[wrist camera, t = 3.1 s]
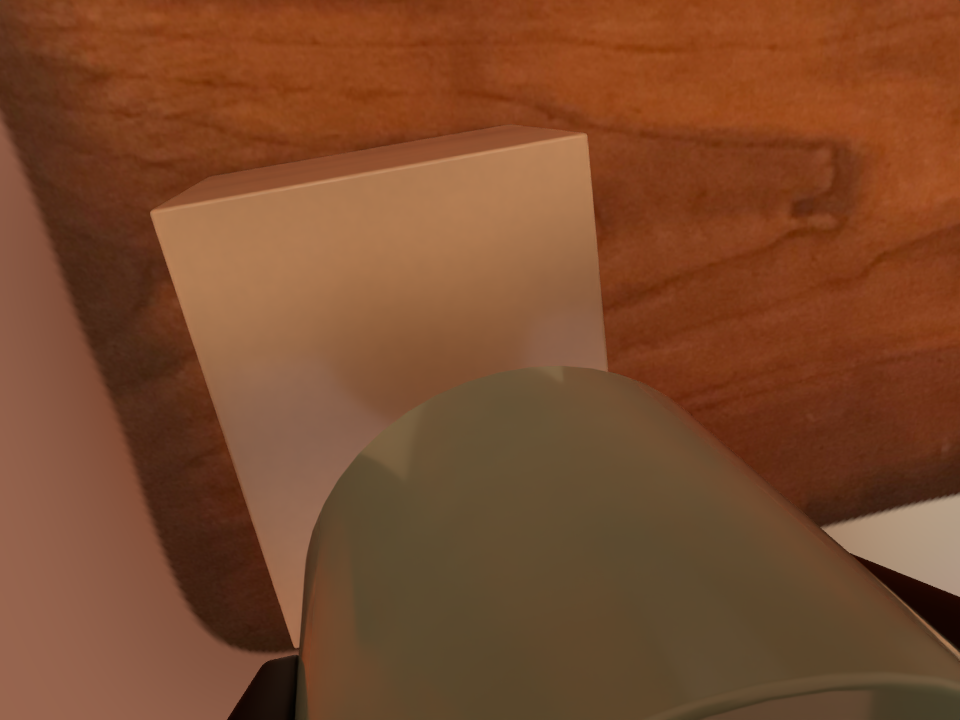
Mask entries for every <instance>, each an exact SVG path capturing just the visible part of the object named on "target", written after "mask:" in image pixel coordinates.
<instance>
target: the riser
mask: <svg viewBox="0 0 960 720" xmlns="http://www.w3.org/2000/svg"><path fill="white" fill-rule="evenodd" d="M150 216H151V219H152V222H153V225H154V228H155V231H156V234H157V237H158V240H159V243H160V246H161V249H162V252H163V255H164V258H165V261H166V264H167V267H168V270H169V273H170V276H171V279H172V282H173V285H174V288H175V291H176V294H177V297H178V300H179V303H180V306H181V309H182V312H183V315H184V318H185V321H186V324H187V327H188V330H189V333H190V336H191V339H192V342H193V345H194V348H195V351H196V354H197V357H198V360H199V363H200V366H201V369H202V372H203V375H204V378H205V381H206V384H207V387H208V390H209V393H210V396H211V399H212V402H213V405H214V408H215V411H216V414H217V417H218V420H219V423H220V426H221V429H222V432H223V435H224V438H225V441H226V444H227V447H228V450H229V453H230V456H231V459H232V462H233V465H234V468H235V471H236V474H237V477H238V480H239V483H240V486H241V490H242V493H243V496H244V499H245V502H246V505H247V508H248V511H249V514H250V517H251V520H252V523H253V526H254V529H255V532H256V535H257V538H258V541H259V544H260V547H261V550H262V553H263V556H264V559H265V562H266V565H267V568H268V571H269V574H270V577H271V580H272V583H273V586H274V589H275V592H276V595H277V598H278V601H279V604H280V607H281V610H282V613H283V616H284V619H285V622H286V625H287V628H288V631H289V634H290V637H291V640H292V643H293V646H294V647H295V648H299V643H300V627H301V612H302V596H303V582H304V571H305V559H306V555H307V551H308V547H309V543H310V539H311V535H312V531H313V529H314V526H315V524H316V521H317V519H318V517H319V514H320V512H321V509H322V507H323V505H324V503H325V501H326V500H327V498H328V496H329V494H330V493H331V491H332V489H333V488H334V486H335V484H336V483H337V481H338V479H339V478H340V477H341V475H342V474H343V473H344V472H345V470H346V469H347V468H348V467H349V465H350V464H351V463H352V461H353V460H354V459H355V458H356V456H357V455H358V454H359V453H360V452H361V451H362V450H363V449H364V448H365V447H366V446H367V445H368V444H369V443H370V442H371V441H372V440H373V439H374V438H375V437H376V436H377V435H378V434H380V433H381V432H382V431H383V430H384V429H386V428H387V427H388V426H390V425H391V424H392V423H393V422H395V421H396V420H397V419H399V418H400V417H401V416H403V415H404V414H405V413H407V412H408V411H410V410H411V409H413V408H415V407H417V406H418V405H420V404H422V403H423V402H425V401H427V400H429V399H430V398H432V397H434V396H435V395H437V394H440V393H442V392H444V391H447V390H449V389H451V388H453V387H456V386H458V385H460V384H463V383H465V382H468V381H471V380H474V379H478V378H481V377H485V376H488V375H491V374H495V373H498V372H504V371H510V370H516V369H522V368H528V367H544V366H571V367H582V368H593V369H597V370H602V371H606V372H608V362H607V351H606V340H605V329H604V317H603V306H602V295H601V284H600V272H599V261H598V250H597V238H596V227H595V216H594V205H593V193H592V182H591V171H590V160H589V148H588V137H587V134H586V133H580V132H572V131H563V130H555V129H546V128H538V127H529V126H520V125H512V124H509V125H503V126H497V127H492V128H486V129H480V130H474V131H469V132H463V133H457V134H451V135H446V136H440V137H434V138H428V139H423V140H417V141H411V142H405V143H400V144H394V145H388V146H382V147H377V148H371V149H365V150H359V151H354V152H348V153H342V154H336V155H331V156H325V157H319V158H313V159H308V160H302V161H296V162H290V163H285V164H279V165H273V166H267V167H262V168H256V169H250V170H244V171H239V172H233V173H227V174H221V175H216V176H210V177H208V178H206V179H205V180H203V181H201V182H199V183H198V184H196V185H194V186H193V187H191V188H189V189H187V190H186V191H184V192H182V193H181V194H179V195H177V196H175V197H174V198H172V199H170V200H169V201H167V202H165V203H163V204H162V205H160V206H158V207H157V208H155V209H153V210H152V211H150Z"/></svg>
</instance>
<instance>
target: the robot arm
mask: <svg viewBox="0 0 960 720" xmlns="http://www.w3.org/2000/svg"><path fill="white" fill-rule="evenodd" d="M850 554H851V553H850ZM851 555H852V556H853V557H854V558H856V559H857V560H858V561H859V562H860V563H861V564H862V565H864V566H865V567H866V568H867V569H868V570H869V571H870V572H872V573H873V574H874V575H875V576H876V577H877V578H878V579H880V580H881V581H882V582H883V583H884V584H885V585H886V586H888V587H889V588H890V589H891V590H892V591H893V592H894V593H896V594H897V595H898V596H899V597H900V598H901V599H902V600H904V601H905V602H906V603H907V604H908V605H909V606H910V607H912V608H913V609H914V610H915V611H916V612H917V613H918V614H920V615H921V616H922V617H923V618H924V619H925V620H926V621H928V622H929V623H930V624H931V625H932V626H933V627H934V628H936V629H937V630H938V631H939V632H940V633H941V634H942V635H944V636H945V637H946V638H947V639H948V640H949V641H950V642H952V643H953V644H954V645H955V646H956V647H957V648H958V649H960V597H958V596H956V595H953V594H951V593H948V592H946V591H943V590H941V589H938V588H935V587H933V586H931V585H928V584H926V583H923V582H921V581H918V580H916V579H913V578H911V577H908V576H906V575H903V574H901V573H898V572H896V571H893V570H891V569H888V568H886V567H883V566H881V565H878V564H876V563H873V562H871V561H868V560H865V559H863V558H861V557H858V556H855V555H853V554H851ZM298 658H299V656H298V655H292V656H287V657H283V658H279V659H274V660H270V661H268V662H266V663H265V664H263V665H262V667H261V668H260V669H259V671H258V673H257V674H256V676H255V677H254V679H253V680H252V682H251V684H250V685H249V686H248V688H247V690H246V691H245V693H244V694H243V696H242V697H241V699H240V700H239V702H238V703H237V705H236V706H235V708H234V710H233V711H232V713H231V714H230V716H229V717H228V719H227V720H295V705H296V689H297V674H298Z"/></svg>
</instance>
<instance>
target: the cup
mask: <svg viewBox="0 0 960 720" xmlns="http://www.w3.org/2000/svg"><path fill="white" fill-rule="evenodd" d="M295 720H960V649H958V648H957V647H956V646H955V645H954V644H953V643H952V642H950V641H949V640H948V639H947V638H946V637H945V636H944V635H942V634H941V633H940V632H939V631H938V630H937V629H936V628H934V627H933V626H932V625H931V624H930V623H929V622H928V621H926V620H925V619H924V618H923V617H922V616H921V615H920V614H918V613H917V612H916V611H915V610H914V609H913V608H912V607H910V606H909V605H908V604H907V603H906V602H905V601H904V600H902V599H901V598H900V597H899V596H898V595H897V594H896V593H894V592H893V591H892V590H891V589H890V588H889V587H888V586H886V585H885V584H884V583H883V582H882V581H881V580H880V579H878V578H877V577H876V576H875V575H874V574H873V573H872V572H870V571H869V570H868V569H867V568H866V567H865V566H864V565H862V564H861V563H860V562H859V561H858V560H857V559H856V558H854V557H853V556H852V555H851V554H850V553H849V552H848V551H846V550H845V549H844V548H843V547H842V546H841V545H840V544H838V543H837V542H836V541H835V540H834V539H833V538H832V537H830V536H829V535H828V534H827V533H826V532H825V531H824V530H822V529H821V528H820V527H819V526H818V525H817V524H815V523H814V522H813V521H812V520H811V519H810V518H809V517H807V516H806V515H805V514H804V513H803V512H802V511H801V510H799V509H798V508H797V507H796V506H795V505H794V504H793V503H791V502H790V501H789V500H788V499H787V498H786V497H785V496H783V495H782V494H781V493H780V492H779V491H778V490H777V489H775V488H774V487H773V486H772V485H771V484H770V483H769V482H767V481H766V480H765V479H764V478H763V477H762V476H761V475H759V474H758V473H757V472H756V471H755V470H754V469H753V468H751V467H750V466H749V465H748V464H747V463H746V462H745V461H743V460H742V459H741V458H740V457H739V456H738V455H737V454H735V453H734V452H733V451H732V450H731V449H730V448H729V447H727V446H726V445H725V444H724V443H723V442H722V441H721V440H719V439H718V438H717V437H716V436H715V435H714V434H713V433H711V432H710V431H709V430H708V429H707V428H706V427H705V426H703V425H702V424H701V423H700V422H699V421H698V420H697V419H695V418H694V417H693V416H692V415H691V414H690V413H688V412H687V411H686V410H685V409H683V408H682V407H681V406H680V405H678V404H677V403H676V402H674V401H673V400H672V399H671V398H669V397H668V396H666V395H664V394H662V393H660V392H659V391H657V390H655V389H653V388H651V387H650V386H648V385H646V384H644V383H641V382H638V381H636V380H633V379H630V378H628V377H625V376H622V375H619V374H615V373H611V372H606V371H602V370H597V369H593V368H582V367H571V366H544V367H528V368H522V369H516V370H510V371H504V372H498V373H495V374H491V375H488V376H485V377H481V378H478V379H474V380H471V381H468V382H465V383H463V384H460V385H458V386H456V387H453V388H451V389H449V390H447V391H444V392H442V393H440V394H437V395H435V396H434V397H432V398H430V399H429V400H427V401H425V402H423V403H422V404H420V405H418V406H417V407H415V408H413V409H411V410H410V411H408V412H407V413H405V414H404V415H403V416H401V417H400V418H399V419H397V420H396V421H395V422H393V423H392V424H391V425H390V426H388V427H387V428H386V429H384V430H383V431H382V432H381V433H380V434H378V435H377V436H376V437H375V438H374V439H373V440H372V441H371V442H370V443H369V444H368V445H367V446H366V447H365V448H364V449H363V450H362V451H361V452H360V453H359V454H358V455H357V456H356V458H355V459H354V460H353V461H352V463H351V464H350V465H349V467H348V468H347V469H346V470H345V472H344V473H343V474H342V475H341V477H340V478H339V479H338V481H337V483H336V484H335V486H334V488H333V489H332V491H331V493H330V494H329V496H328V498H327V500H326V501H325V503H324V505H323V507H322V509H321V512H320V514H319V517H318V519H317V521H316V524H315V526H314V529H313V531H312V535H311V539H310V543H309V547H308V551H307V555H306V559H305V571H304V582H303V596H302V612H301V627H300V643H299V658H298V674H297V689H296V705H295Z"/></svg>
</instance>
